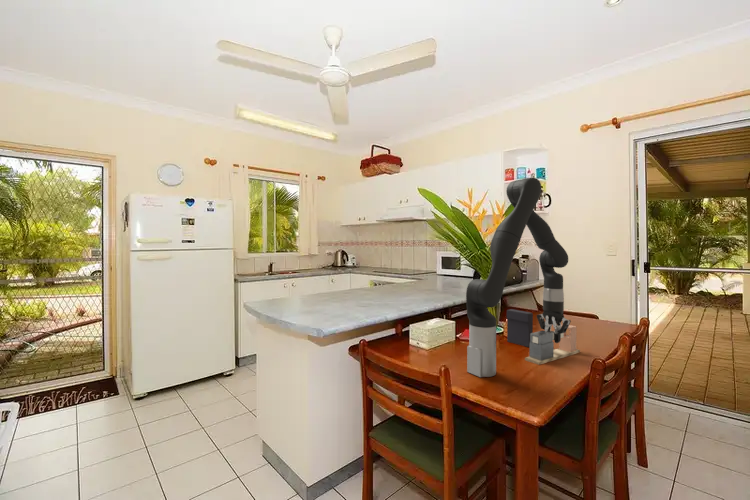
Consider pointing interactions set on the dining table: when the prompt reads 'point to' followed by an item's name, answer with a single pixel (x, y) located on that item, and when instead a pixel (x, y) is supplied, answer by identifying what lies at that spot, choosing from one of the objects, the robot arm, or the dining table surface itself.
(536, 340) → the slip tube
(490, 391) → the dining table surface
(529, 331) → the dark gray lidded box
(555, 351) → the base board
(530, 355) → the sleeve
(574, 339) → the socket
